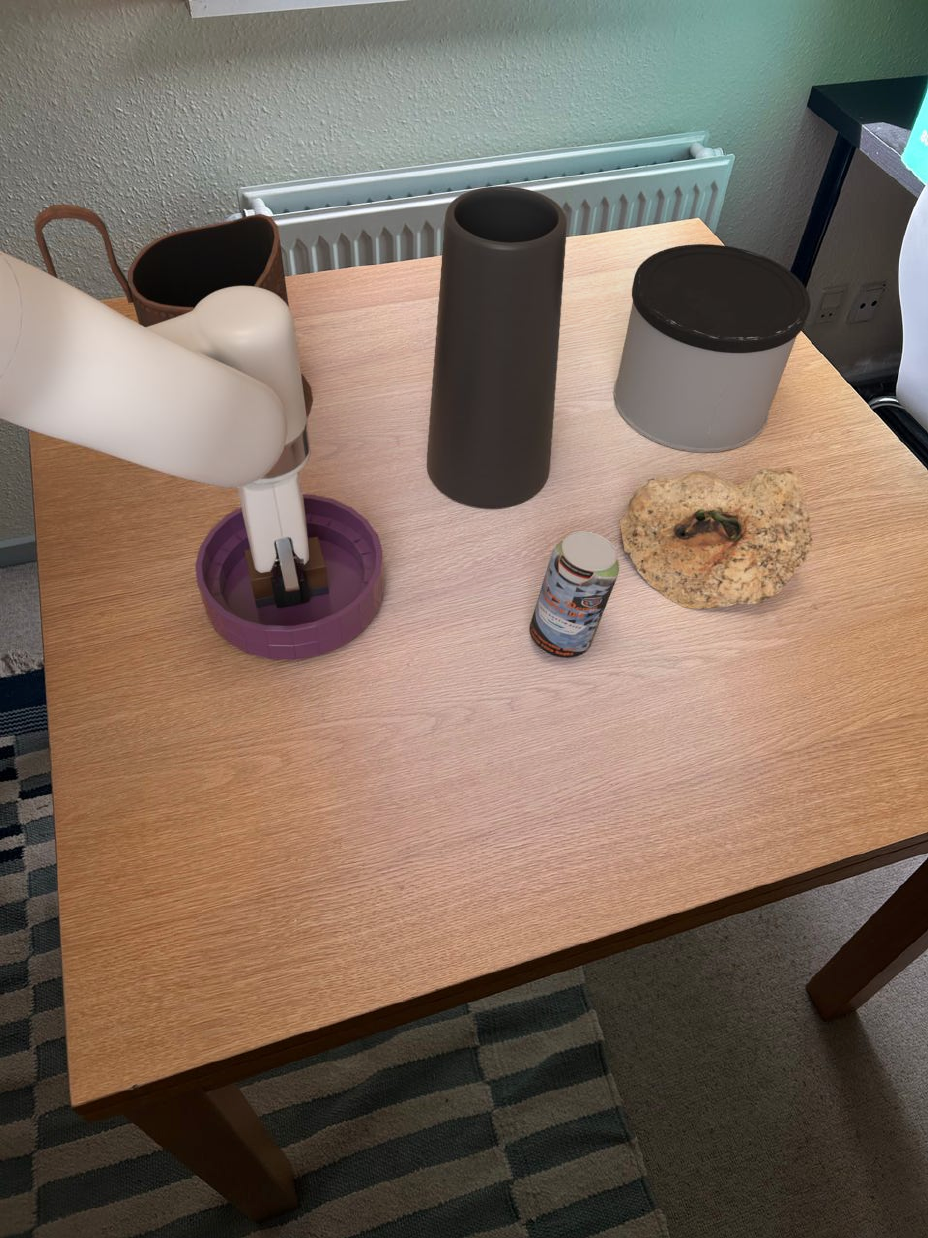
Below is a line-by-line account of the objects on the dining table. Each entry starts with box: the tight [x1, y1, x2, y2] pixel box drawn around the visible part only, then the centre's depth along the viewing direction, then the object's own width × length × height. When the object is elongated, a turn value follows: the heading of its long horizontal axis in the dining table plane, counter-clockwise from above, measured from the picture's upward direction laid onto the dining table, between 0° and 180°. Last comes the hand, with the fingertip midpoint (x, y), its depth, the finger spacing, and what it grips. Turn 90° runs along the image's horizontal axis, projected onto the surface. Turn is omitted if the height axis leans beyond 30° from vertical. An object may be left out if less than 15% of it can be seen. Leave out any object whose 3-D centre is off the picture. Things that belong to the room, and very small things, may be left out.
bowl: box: [195, 493, 385, 661], centre depth 88 cm, size 17×17×5 cm
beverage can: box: [528, 530, 620, 659], centre depth 83 cm, size 6×7×12 cm
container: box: [613, 243, 811, 453], centre depth 104 cm, size 19×19×15 cm
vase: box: [426, 185, 568, 510], centre depth 90 cm, size 14×14×29 cm
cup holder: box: [33, 204, 314, 418], centre depth 97 cm, size 18×24×25 cm
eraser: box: [245, 537, 329, 608], centre depth 88 cm, size 7×4×4 cm, turn 106°
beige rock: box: [619, 466, 814, 610], centre depth 92 cm, size 18×14×8 cm
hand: (288, 583), depth 89 cm, fingers closed on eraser, 4 cm apart
